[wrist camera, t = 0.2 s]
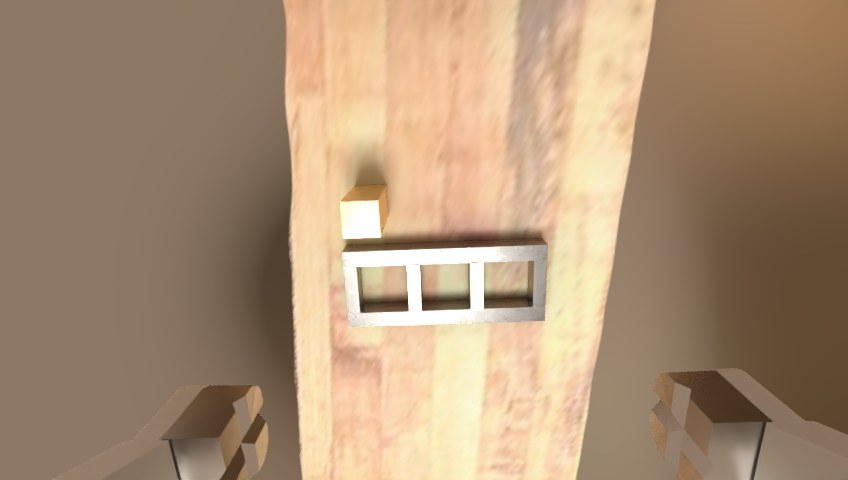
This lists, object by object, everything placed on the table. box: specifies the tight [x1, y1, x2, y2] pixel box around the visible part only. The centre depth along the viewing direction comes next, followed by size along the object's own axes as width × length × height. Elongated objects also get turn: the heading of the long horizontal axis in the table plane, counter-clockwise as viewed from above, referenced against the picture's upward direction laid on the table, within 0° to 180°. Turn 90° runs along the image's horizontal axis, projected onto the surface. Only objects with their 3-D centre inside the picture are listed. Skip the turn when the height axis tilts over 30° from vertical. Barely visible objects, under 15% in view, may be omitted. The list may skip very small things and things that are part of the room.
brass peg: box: [340, 185, 388, 239], centre depth 51 cm, size 4×4×10 cm
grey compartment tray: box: [342, 238, 548, 327], centre depth 57 cm, size 10×26×3 cm, turn 92°
